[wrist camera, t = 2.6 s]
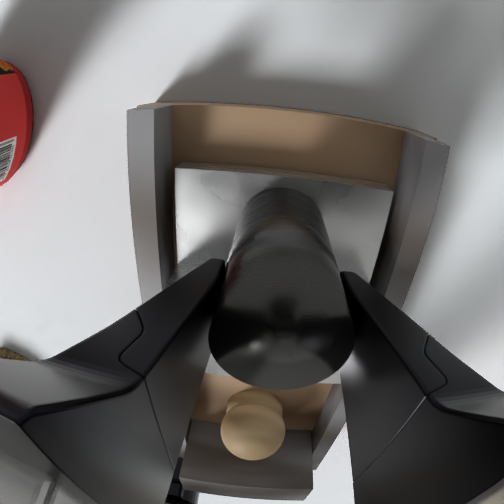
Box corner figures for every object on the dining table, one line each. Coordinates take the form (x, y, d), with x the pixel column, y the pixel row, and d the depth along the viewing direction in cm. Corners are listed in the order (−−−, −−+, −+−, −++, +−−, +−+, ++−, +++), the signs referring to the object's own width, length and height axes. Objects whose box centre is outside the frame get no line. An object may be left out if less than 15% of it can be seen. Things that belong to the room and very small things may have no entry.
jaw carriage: (348, 320, 15) (374, 446, 9) (186, 305, 15) (143, 428, 9) (385, 183, 12) (474, 284, 6) (182, 161, 12) (91, 246, 6)
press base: (319, 430, 24) (323, 501, 18) (180, 417, 25) (163, 487, 18) (418, 131, 13) (510, 174, 6) (154, 102, 13) (63, 123, 7)
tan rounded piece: (281, 422, 20) (279, 471, 17) (224, 417, 21) (216, 465, 17) (290, 391, 18) (289, 446, 15) (225, 384, 19) (215, 439, 15)
